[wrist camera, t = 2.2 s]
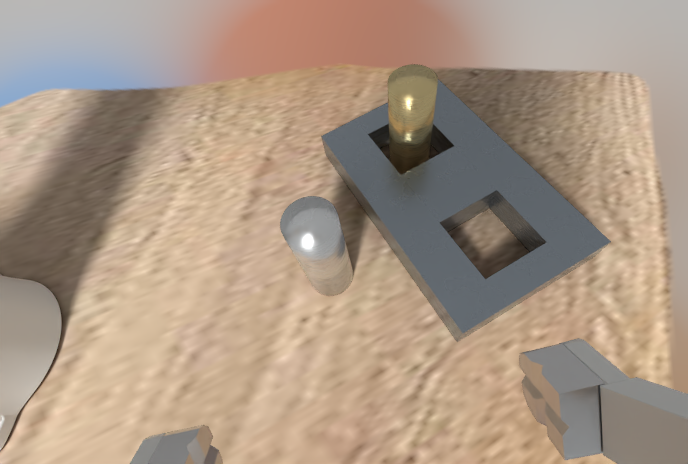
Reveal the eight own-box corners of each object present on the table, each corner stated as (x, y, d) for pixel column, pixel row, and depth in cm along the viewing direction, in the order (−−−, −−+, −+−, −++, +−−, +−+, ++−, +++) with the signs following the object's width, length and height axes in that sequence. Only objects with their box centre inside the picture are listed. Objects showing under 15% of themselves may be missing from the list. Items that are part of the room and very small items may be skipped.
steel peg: (322, 304, 33) (295, 258, 25) (302, 268, 35) (271, 213, 26) (361, 281, 34) (348, 228, 25) (340, 247, 36) (321, 187, 27)
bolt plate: (457, 342, 30) (481, 305, 22) (326, 155, 41) (306, 80, 32) (593, 257, 32) (667, 192, 23) (434, 99, 43) (443, 13, 34)
